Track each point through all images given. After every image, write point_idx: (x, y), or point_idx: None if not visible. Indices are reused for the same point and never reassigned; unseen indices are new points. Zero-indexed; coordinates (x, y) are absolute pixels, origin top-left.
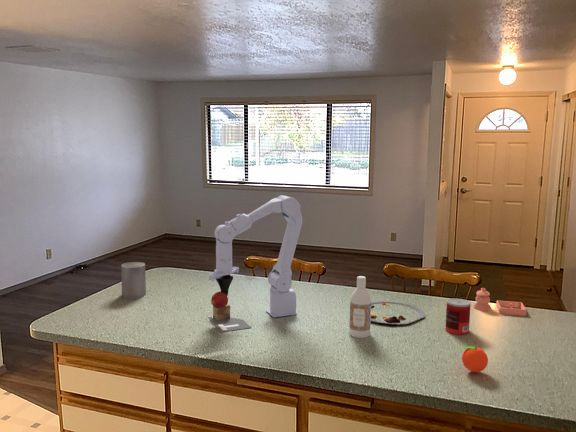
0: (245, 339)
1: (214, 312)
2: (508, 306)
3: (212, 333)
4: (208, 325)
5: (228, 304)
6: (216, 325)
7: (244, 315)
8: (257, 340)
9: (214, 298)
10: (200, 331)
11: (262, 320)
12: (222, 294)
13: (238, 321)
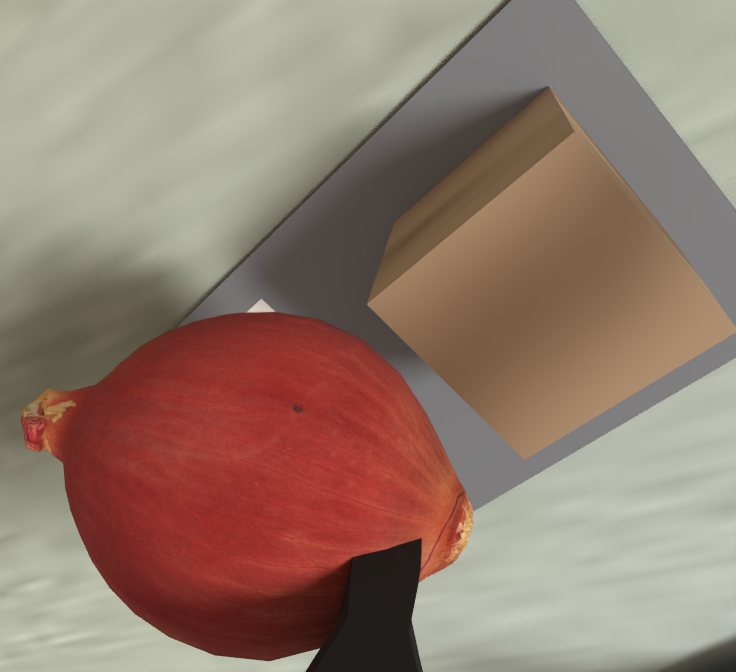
0: (95, 601)
1: (486, 163)
2: None
3: (39, 337)
4: (208, 192)
5: (566, 424)
6: (230, 294)
7: (702, 445)
8: (126, 665)
9: (67, 489)
10: (5, 196)
11: (573, 623)
12: (193, 643)
13: (450, 457)
